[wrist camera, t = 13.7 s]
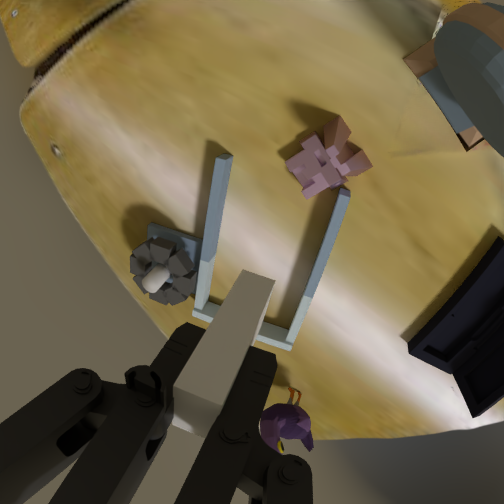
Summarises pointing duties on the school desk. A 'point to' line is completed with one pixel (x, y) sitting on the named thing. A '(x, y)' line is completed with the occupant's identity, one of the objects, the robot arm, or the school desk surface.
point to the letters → (327, 159)
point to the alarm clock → (467, 73)
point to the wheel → (175, 263)
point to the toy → (286, 424)
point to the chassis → (206, 251)
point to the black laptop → (470, 334)
